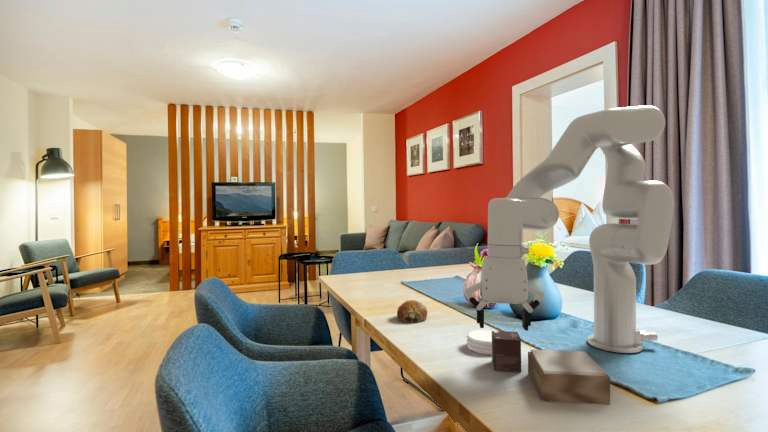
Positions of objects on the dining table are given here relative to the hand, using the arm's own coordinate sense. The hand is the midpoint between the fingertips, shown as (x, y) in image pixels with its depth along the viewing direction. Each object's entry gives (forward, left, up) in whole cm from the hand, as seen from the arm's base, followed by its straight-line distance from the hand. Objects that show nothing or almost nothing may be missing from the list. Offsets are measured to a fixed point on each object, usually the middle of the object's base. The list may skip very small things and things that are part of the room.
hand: (503, 327), depth 91 cm
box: (-1, 0, -9) cm, 9 cm away
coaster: (+2, -12, -10) cm, 16 cm away
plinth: (-11, +10, -9) cm, 17 cm away
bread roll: (+23, -37, -9) cm, 45 cm away
